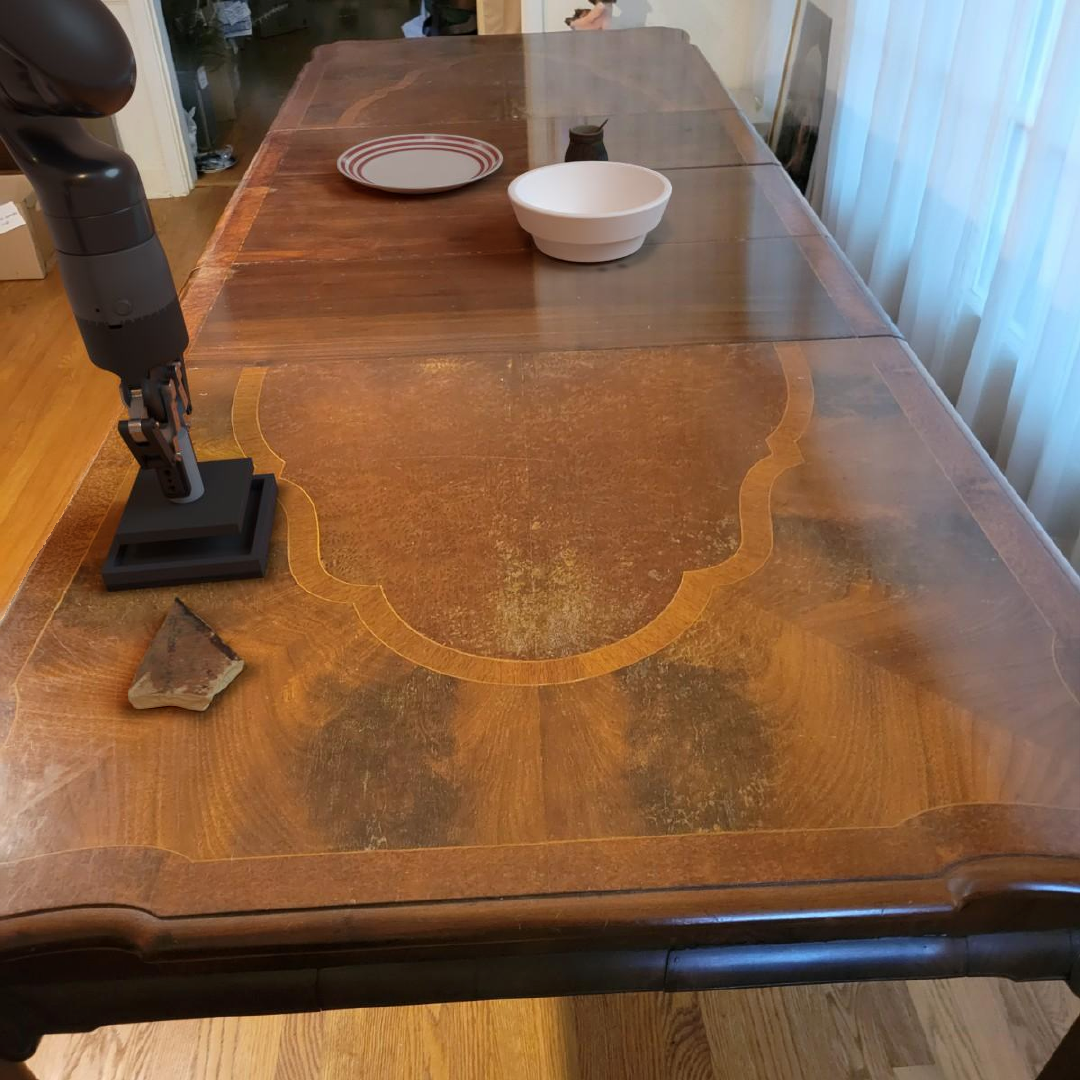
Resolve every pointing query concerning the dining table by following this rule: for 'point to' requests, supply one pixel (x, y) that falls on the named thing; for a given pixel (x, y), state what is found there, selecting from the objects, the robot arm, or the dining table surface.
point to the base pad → (199, 550)
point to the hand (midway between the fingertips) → (182, 482)
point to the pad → (188, 501)
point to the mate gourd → (586, 144)
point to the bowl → (589, 208)
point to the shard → (183, 664)
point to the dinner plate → (419, 162)
